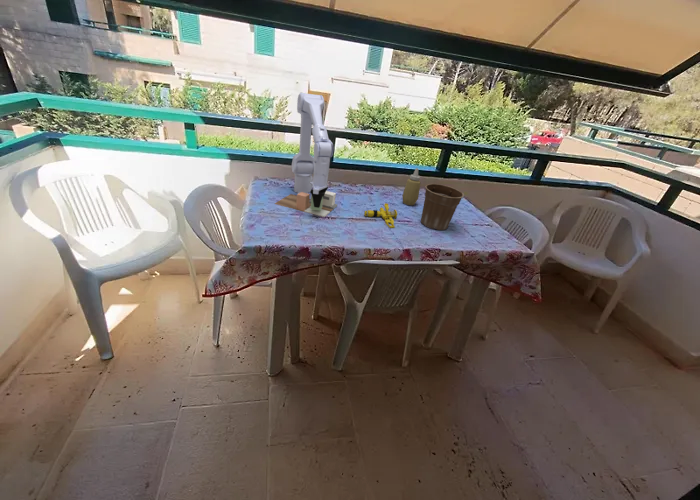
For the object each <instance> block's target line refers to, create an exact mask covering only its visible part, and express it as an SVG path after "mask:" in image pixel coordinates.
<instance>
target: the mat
mask: <svg viewBox="0 0 700 500" xmlns="http://www.w3.org/2000/svg"><path fill="white" fill-rule="evenodd" d="M306 212H307V213H306ZM304 213H306V214H311V215H315V216H317V215H318V217H321V216H322V218H326V217H327V216H328V215H329V214H330V213H331V212H330V211H327V210H323V209H321V210H320V211H318V210H312V209H311V206H310V207H309V208H307V209H306V210H305V211H304Z"/></svg>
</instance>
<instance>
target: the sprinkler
mask: <svg viewBox="0 0 700 500" xmlns="http://www.w3.org/2000/svg"><path fill="white" fill-rule="evenodd" d="M383 207H384V208H383ZM383 207H380V208H379V210H378V209H376V210H375V209H369V210H364V213H363V215H364V217H368V218H372V217H373V218H378V217H382V219H383V220H384V222H385V224H386V225H387V227H388V228H389V229H394V228H396V225H394V224H395V220H394V219H397V217H398V211H397V209H394V210H393V211H392V210H390V207H389V203H387V202H386V203H384V205H383ZM393 218H394V219H393Z"/></svg>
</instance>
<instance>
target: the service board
mask: <svg viewBox="0 0 700 500" xmlns="http://www.w3.org/2000/svg"><path fill="white" fill-rule="evenodd" d="M310 200H311V198H310ZM296 203H297V194H293V193H290V194H288V195H286V196H285V197H283V198H282V199H280V200H278V201H276V202H275V203H274V205H277V206H281V207H285V208H288V209H292V210H295V211H299V212H304V211H305V210H302V209H298V208H296ZM310 206H311V203H309V207H310ZM335 208H337V207H335ZM335 208H334V209H335ZM322 209H323V210H327V211H330V213H331V212H332V211H334V209H329V208H326V207H322ZM304 213H306V214H308V213H307V212H304ZM316 216H318V215H316ZM318 217H319V216H318ZM320 217H322V216H320ZM322 218H323V217H322Z"/></svg>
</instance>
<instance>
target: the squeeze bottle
mask: <svg viewBox="0 0 700 500" xmlns="http://www.w3.org/2000/svg"><path fill="white" fill-rule="evenodd" d="M420 179H421V176H420V175H419V168H418V167H416V168H415V170H414V171H413V174H410V176H409V178H408V179H407V181H406V183H405V186H404V189H403V192H402V203H403V204H404V205H407V206H414V205H416V203H417V201H418V200H419V195H420V190H421V184H422V183H421V180H420Z"/></svg>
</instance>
